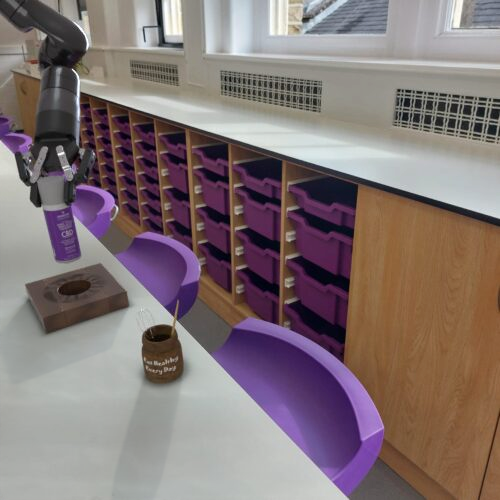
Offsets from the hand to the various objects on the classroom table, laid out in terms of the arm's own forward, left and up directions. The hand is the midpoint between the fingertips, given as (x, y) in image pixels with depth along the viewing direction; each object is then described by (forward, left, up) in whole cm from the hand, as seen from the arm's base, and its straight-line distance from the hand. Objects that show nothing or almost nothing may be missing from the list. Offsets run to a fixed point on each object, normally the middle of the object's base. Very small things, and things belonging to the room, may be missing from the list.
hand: (52, 204), depth 83 cm
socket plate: (+1, +2, -21) cm, 21 cm away
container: (+1, +2, -11) cm, 11 cm away
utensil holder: (+6, -27, -21) cm, 35 cm away
